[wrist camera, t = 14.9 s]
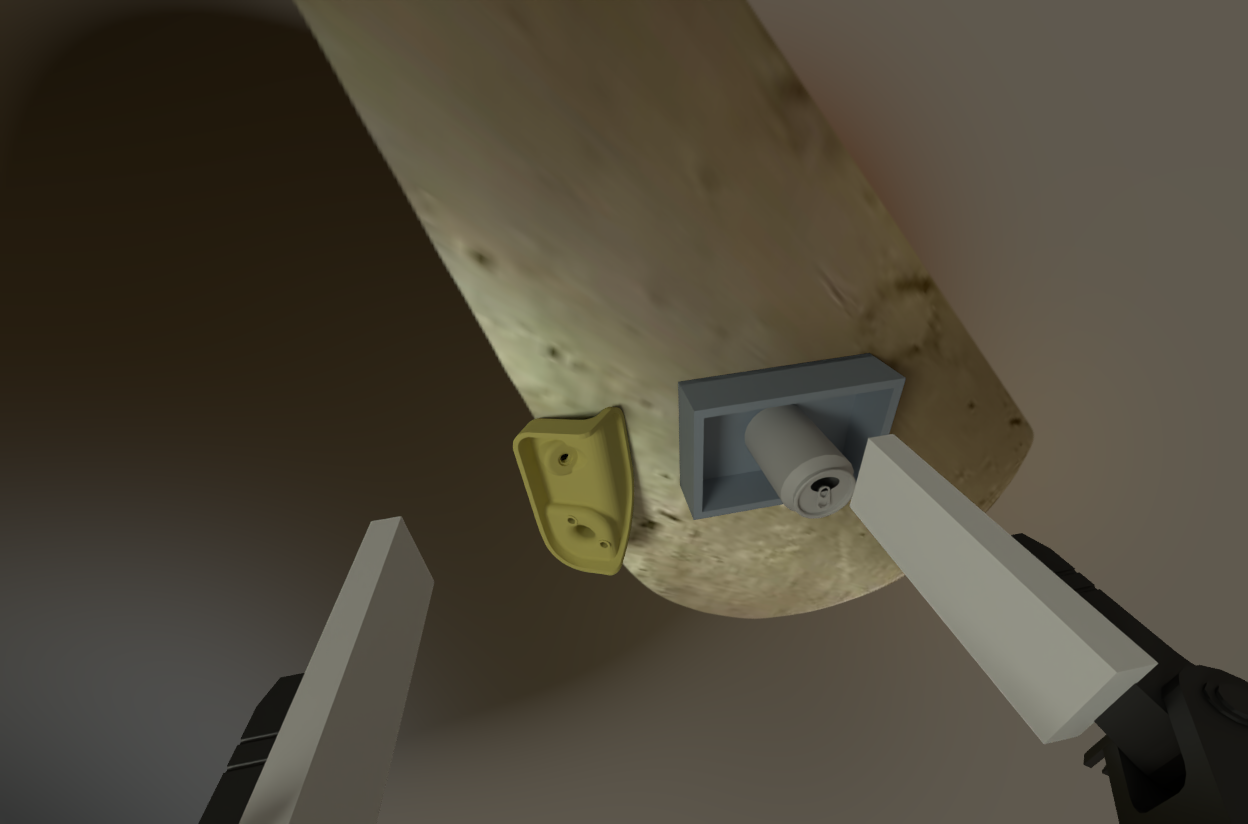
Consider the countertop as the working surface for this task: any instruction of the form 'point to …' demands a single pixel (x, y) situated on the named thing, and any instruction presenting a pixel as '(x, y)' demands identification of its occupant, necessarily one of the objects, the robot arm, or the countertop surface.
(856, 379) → the bin
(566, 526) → the plastic component
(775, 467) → the can
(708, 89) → the countertop surface
